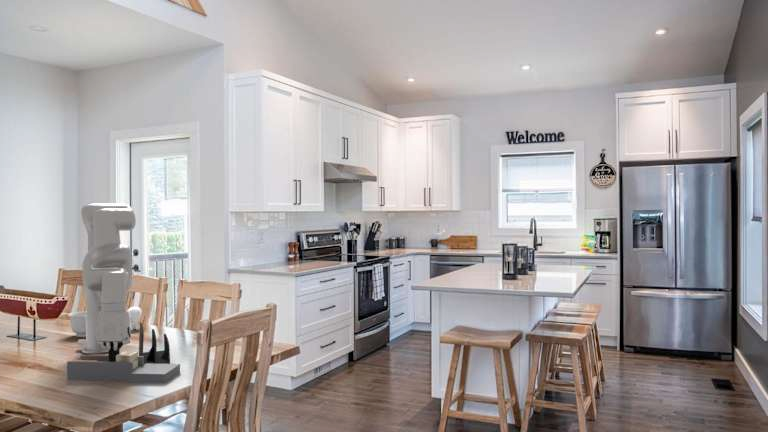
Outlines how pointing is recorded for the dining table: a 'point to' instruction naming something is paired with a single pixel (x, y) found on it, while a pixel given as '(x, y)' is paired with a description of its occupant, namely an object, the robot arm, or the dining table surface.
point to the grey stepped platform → (119, 370)
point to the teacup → (78, 323)
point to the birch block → (128, 358)
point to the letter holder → (154, 349)
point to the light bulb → (134, 316)
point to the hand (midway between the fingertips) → (114, 361)
